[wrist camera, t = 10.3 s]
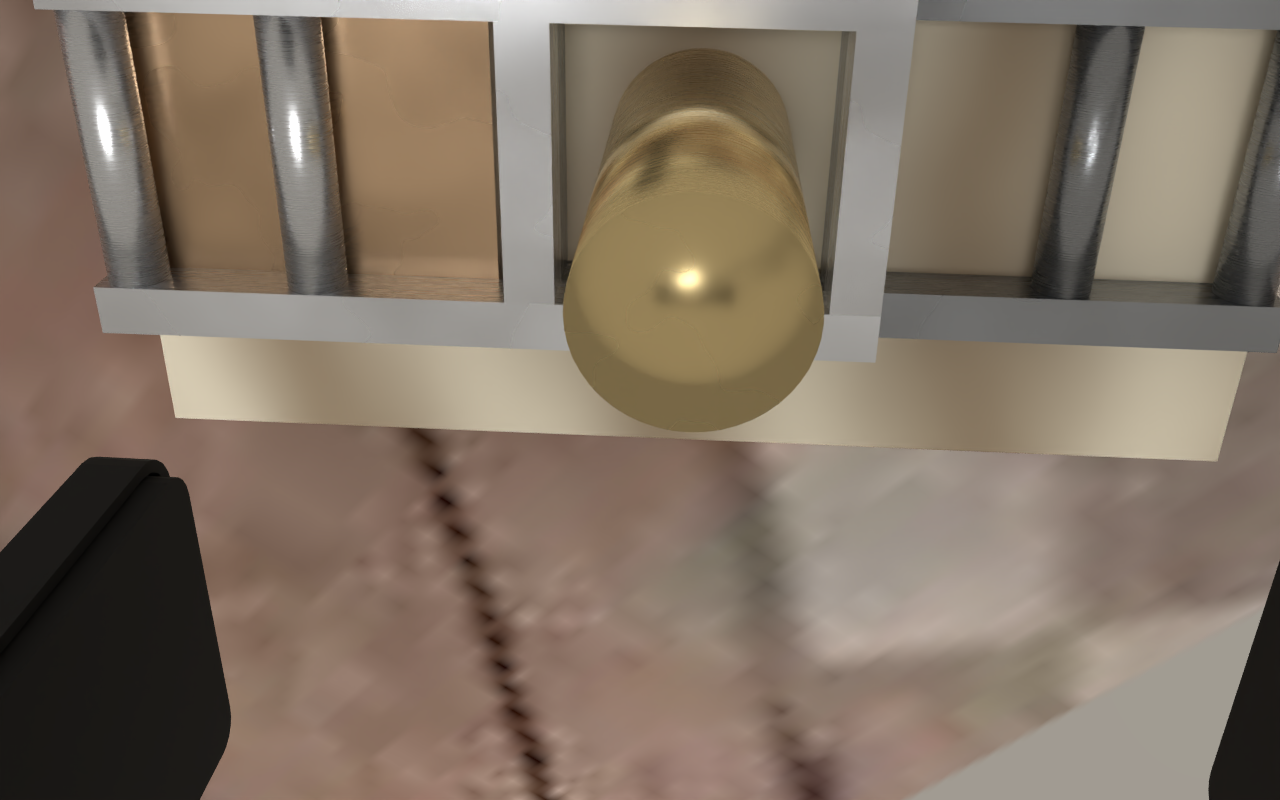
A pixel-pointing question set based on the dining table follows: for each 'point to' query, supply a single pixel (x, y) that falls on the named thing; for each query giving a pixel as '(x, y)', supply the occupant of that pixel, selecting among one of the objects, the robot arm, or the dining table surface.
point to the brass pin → (696, 251)
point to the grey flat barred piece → (402, 162)
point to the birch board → (920, 242)
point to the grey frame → (1089, 203)
